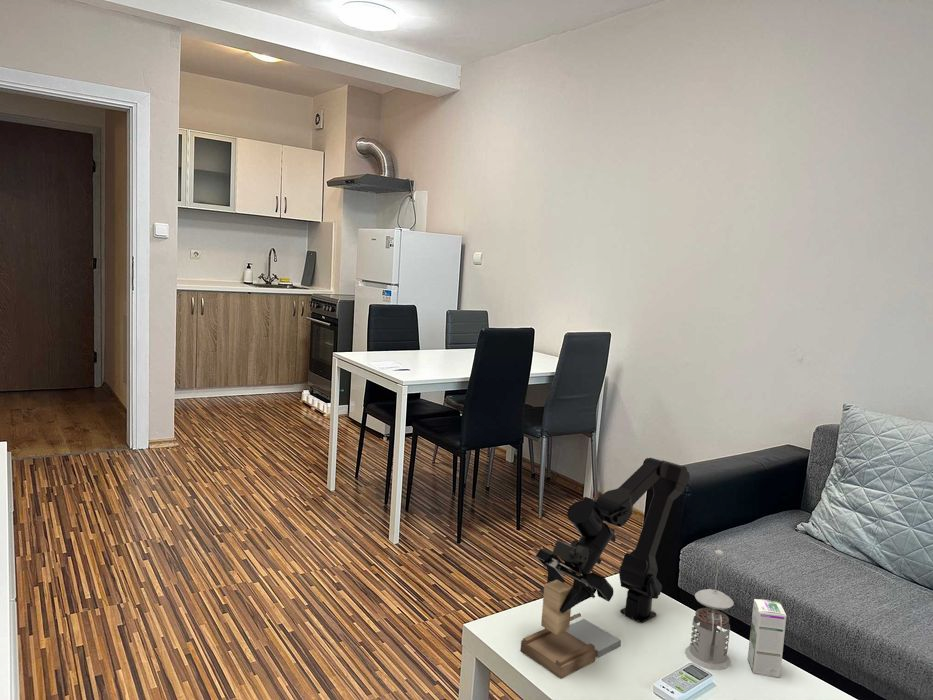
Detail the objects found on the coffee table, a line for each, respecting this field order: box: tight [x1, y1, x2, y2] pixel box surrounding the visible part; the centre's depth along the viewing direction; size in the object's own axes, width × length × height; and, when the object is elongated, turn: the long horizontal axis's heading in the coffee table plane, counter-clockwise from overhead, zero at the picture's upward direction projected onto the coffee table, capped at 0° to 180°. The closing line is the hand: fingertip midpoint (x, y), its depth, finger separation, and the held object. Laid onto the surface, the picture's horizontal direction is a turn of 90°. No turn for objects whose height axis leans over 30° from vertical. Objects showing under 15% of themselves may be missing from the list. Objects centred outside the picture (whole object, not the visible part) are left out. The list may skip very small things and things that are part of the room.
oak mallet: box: [540, 580, 582, 635], centre depth 146 cm, size 10×4×10 cm, turn 130°
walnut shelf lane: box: [520, 628, 597, 679], centre depth 147 cm, size 11×12×3 cm
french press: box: [684, 549, 735, 671], centre depth 148 cm, size 10×12×25 cm
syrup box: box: [747, 598, 787, 678], centre depth 146 cm, size 6×6×14 cm
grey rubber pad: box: [565, 618, 622, 658], centre depth 154 cm, size 8×11×2 cm
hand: (552, 607), depth 143 cm, fingers closed on oak mallet, 4 cm apart
